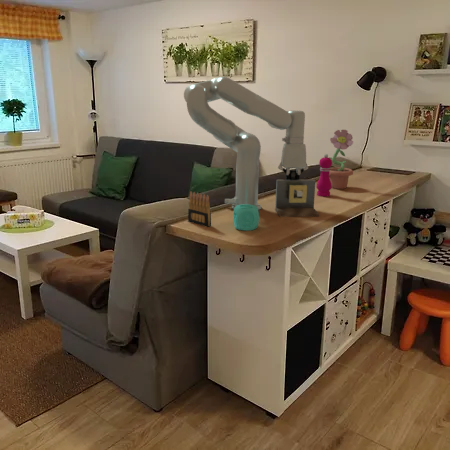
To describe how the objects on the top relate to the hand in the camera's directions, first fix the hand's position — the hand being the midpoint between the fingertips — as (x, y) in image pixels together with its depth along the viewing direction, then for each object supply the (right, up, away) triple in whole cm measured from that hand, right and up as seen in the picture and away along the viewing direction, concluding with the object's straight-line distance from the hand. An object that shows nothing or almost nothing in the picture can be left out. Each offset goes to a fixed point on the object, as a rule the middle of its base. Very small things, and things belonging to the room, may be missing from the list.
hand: (292, 183), depth 197 cm
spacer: (+1, -9, -10) cm, 13 cm away
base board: (0, -13, -8) cm, 15 cm away
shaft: (0, -4, -6) cm, 8 cm away
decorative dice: (-21, -19, -29) cm, 41 cm away
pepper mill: (+19, -4, +25) cm, 31 cm away
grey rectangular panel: (0, -11, -4) cm, 11 cm away
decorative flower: (+30, +1, +43) cm, 52 cm away
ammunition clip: (-39, -18, -24) cm, 49 cm away
